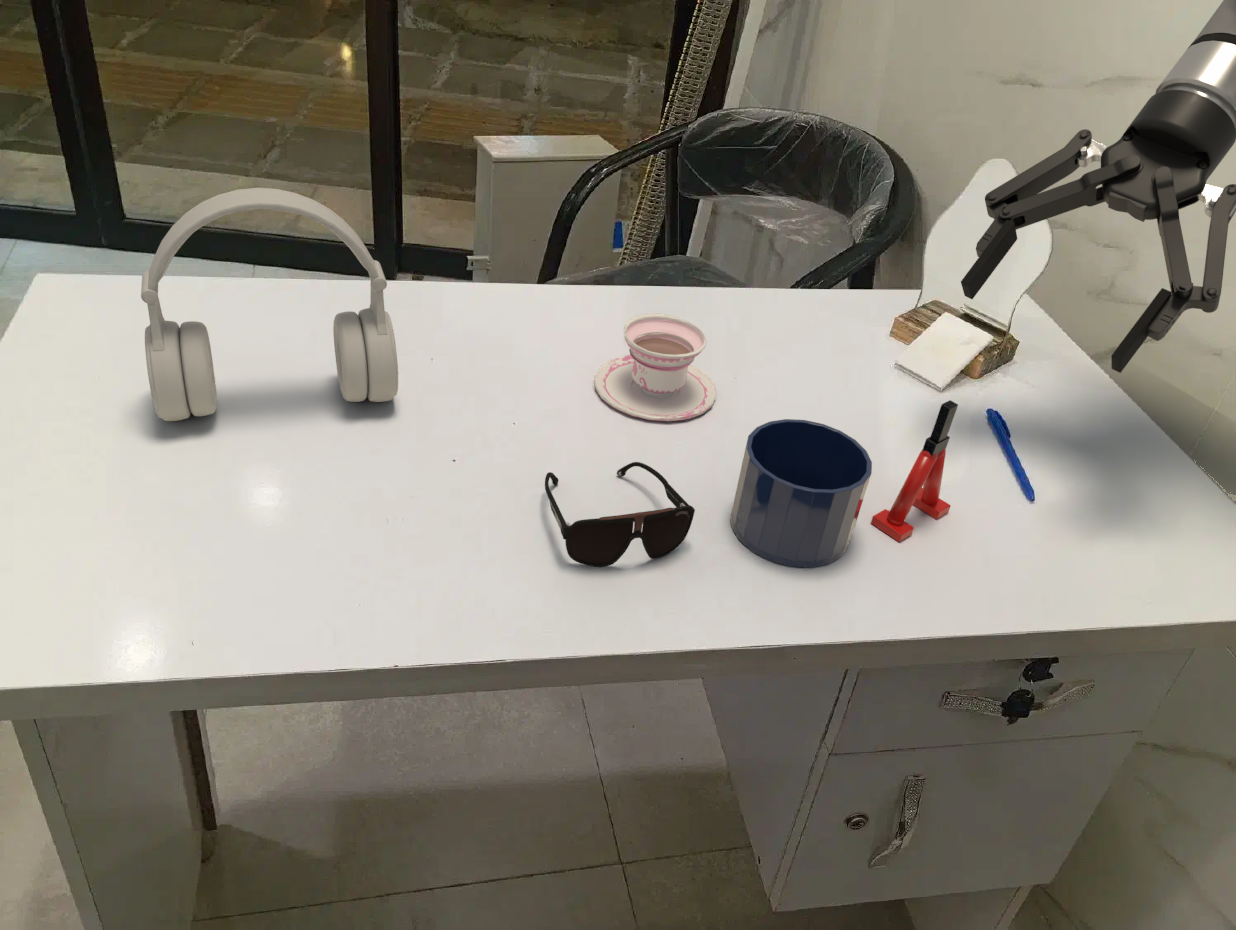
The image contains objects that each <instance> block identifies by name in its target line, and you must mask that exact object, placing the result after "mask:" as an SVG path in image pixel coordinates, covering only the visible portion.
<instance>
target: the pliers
mask: <svg viewBox="0 0 1236 930" xmlns="http://www.w3.org/2000/svg"><path fill="white" fill-rule="evenodd" d="M958 408H959V404H958V403H956V402H954V401H952V400H948V401H945V402H944V403H941V405H940V408H939V410H938V414H937V417H936V420H935V423H934V425H933V428H932V431H931V434H930V436H929V437H927V438H926V439H925V442H924V444H923V446H922V449H921V451H920V452H919V453H918V456H917V458H916V459H915V462H914V463H913V465H912V467H911V470H910V471H909V473H908V475H907V477H906V479H905V481H904V483H903V485H902V487H901V489H900V490H899V493H898V495H897V496H896V498H895V500H894V502H893V503H892V505H891V508H890V510H888V509H886V508H885V509H883V510H880V511H879V512H878V513H876V514H874V515H872V518H871V521H870V524H871V525H873V526H874V527H876V528H877V529H879V530H880V531H882V532H883V533H885V534H886V535H888V536H889V537H891V538H892V539H894V540H895V541H896V542H898V543H901V542H902V541H903V540H906V539H907V538H909V537H910V536H912V534H913V532H914V529H915V527H914V526H913V525H912V524H909V523H908V522H906V521H905V520H906V519H907V517H908V515H909V513H910V511H911V509H912V507H913V506H914V507H916V508H918V509H919V510H921V511H922V512H924V513H926V514H927V515H929V516H930V517H931V518H933V519H935V520H938V519H940V518H941V517H943V516H945V515H947V514H948V513H949V511H950V509H951V504H949V503H948V502H946V501H944V500H943V499H941V498H940V495H941V488H942V487H941V486H942V480H943V474H944V467H945V459H946V454H947V453H946V452H947V450H946V449H947V447H948V444H949V441H950V438H951V437H950V436H949V435H948V434H949V432H950V429H951V426H952V423H953V420H954V418H955V416H956V412H957V410H958Z"/></svg>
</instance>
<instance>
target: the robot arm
mask: <svg viewBox="0 0 1236 930" xmlns="http://www.w3.org/2000/svg"><path fill="white" fill-rule="evenodd" d="M1235 143H1236V0H1223V1H1222V2H1221V3H1220V5H1219V6H1218V7H1217V8H1216V10H1215V11H1214V12H1213V14H1212V15H1211V17H1210V18H1209V20H1208V21H1207V22H1206V23H1205V25H1204V26H1203V28H1202V29H1201V31H1200V32H1199V33H1198V35H1197V36H1196V37H1195V38H1194V40H1193V41H1192V42H1191V44H1190V45H1189V46H1188V48H1187V49H1186V50H1185V51H1184V52H1183V54H1182V55H1181V56H1180V58H1179V59H1178V60H1177V61H1176V63H1175V64H1174V66H1173V67H1172V68H1171V69H1170V70H1169V72H1168V73H1167V74H1166V76H1165V77H1164V78H1163V80H1162V81H1161V82H1160V84H1159V85H1158V86H1157V88H1156V90H1155V93H1154V94H1153V95H1152V96H1151V97H1149V99H1147V101H1146V102H1145V104H1144V105H1143V107H1142V108H1141V109H1140V111H1139V112H1138V113H1137V115H1136V116H1135V118H1134V119H1133V120H1132V121H1131V123H1130V124H1129V125H1128V127H1127V128H1126V129H1125V131H1124V133H1123V134H1122V135H1121V136H1120V138H1119V139H1118V140H1117V141H1116V142H1114V143H1112V144H1111V145H1109V146H1107V145H1105V144H1103V143H1101V142H1099V141H1097V140H1096V139H1094V138H1093V134H1092V131H1091V130H1090V129H1080V130H1079V131H1078V132H1077V133H1076V134H1074V136H1073V137H1072V138H1071V139H1070V140H1069V141H1068V142H1067V143H1066V145H1065V146H1064V147H1062V148H1061V149H1059V150H1057V151H1055V152H1054V153H1052V154H1051V155H1049V156H1047V157H1046V158H1044V159H1043V160H1041V161H1039V162H1037V163H1036V164H1034V165H1033V166H1031V167H1029V168H1027V169H1026V170H1024V171H1022V172H1021V173H1019V174H1017V175H1015V176H1014V177H1012V178H1010V179H1009V180H1007V181H1006V182H1004V183H1002V184H1001V185H998V187H996V188H994V189H992V190H991V191H989V192H988V193H986V194H985V196H984V202H985V207H986V211H987V215H988V217H990V218H991V219H993V221H992V223H990V225H989V227H988V228H987V229H986V231H985V232H984V234H983V235H982V236H981V237H980V239H979V240H978V241H977V242H976V246H975V251H976V255H977V257H978V258H977V259H976V261H975V262H974V263H973V264H972V265H971V267H970V269H969V270H967V272H966V274H965V275H964V277H963V278H962V279H961V280H960V284H961V288H962V291H963V295H964V297H966V298H968V299H970V300H973V299H974V298H975V296H977V294H978V293H979V292H980V290H981V289H982V287H983V286H984V285H985V284H986V282H987V281H988V279H989V278H990V277H991V275H992V274H993V273H994V271H995V270H996V269H997V267H998V266H999V265H1000V263H1001V262H1002V261H1003V259H1004V258H1005V256H1006V255H1007V254H1008V253H1009V251H1010V250H1011V249H1012V247H1013V246H1014V245H1015V243H1016V242H1017V240H1018V234H1017V230H1019V229H1023V228H1025V227H1028V226H1030V225H1033V224H1036V223H1040V222H1042V221H1045V220H1048V219H1051V218H1053V217H1056V216H1057V217H1058V216H1060V215H1062V214H1065V213H1068V212H1071V211H1073V210H1076V209H1077V210H1078V209H1079V208H1082V207H1094V206H1097V205H1099V204H1102V203H1106V204H1107V208H1108V209H1111V210H1113V211H1116V212H1120V213H1126V214H1128V215H1130V216H1131V218H1133V219H1135V220H1137V221H1140V222H1142V223H1144V222H1145V221H1152V220H1156V223H1157V229H1158V233H1159V236H1160V240H1161V245H1162V251H1163V256H1164V261H1165V267H1166V273H1167V279H1168V283H1169V288H1170V290H1168V289H1166V288H1163V287H1161V289H1160V290H1159V291H1158V293H1157V294H1156V295H1155V297H1154V298H1153V299H1152V300H1151V302H1150V303H1149V305H1148V306H1147V307H1146V309H1145V310H1144V311H1143V312H1142V314H1141V316H1140V317H1139V318H1138V319H1137V320H1136V322H1135V323H1134V324H1133V326H1132V327H1131V328H1130V330H1129V331H1128V333H1127V334H1126V336H1125V337H1124V338H1123V339H1122V341H1121V342H1120V343H1119V345H1117V348H1116V349H1115V350H1114V351H1113V353H1112V354H1111V356H1110V357H1111V369H1112V370H1113V371H1115V372H1118V373H1119V374H1121V373H1122V372H1123V370H1124V369H1125V368H1126V366H1127V365H1128V364H1129V362H1130V361H1131V360H1132V358H1133V357H1134V356H1135V355H1136V353H1137V352H1138V351H1139V349H1140V348H1141V346H1142V345H1143V344H1144V343H1145V341H1146V340H1147V339H1148V338H1150V339H1152V340H1154V341H1157V342H1159V341H1160V340H1162V339H1164V338H1165V337H1166V335H1167V334H1168V333H1169V331H1170V330H1171V329H1172V327H1173V326H1174V325H1175V323H1177V321H1178V320H1179V318H1180V317H1181V316H1182V314H1183V313H1184V312H1185V311H1187V310H1191V309H1196V310H1202V312H1204V313H1207V314H1209V313H1210V314H1211V313H1214V312H1216V311H1217V310H1218V308H1219V305H1220V299H1221V295H1222V288H1223V287H1222V286H1223V280H1224V279H1223V278H1224V269H1225V259H1226V251H1227V249H1226V248H1227V239H1228V230H1229V224H1230V222H1231V220H1232V219H1233V217H1234V216H1235V213H1236V183H1231V184H1228V185H1226V186H1225V187H1221V186H1220V187H1219V186H1215V185H1212V184H1208V183H1207V181H1208V179H1209V178H1210V177H1211V176H1212V174H1213V173H1214V171H1216V169H1217V167H1218V166H1219V165H1220V163H1221V162H1222V161H1223V160H1224V158H1225V157H1226V156H1227V154H1228V153H1229V151H1230V150H1231V149H1232V148H1233V146H1234V145H1235ZM1093 162H1098V163H1100V167H1099V168H1097V169H1094V170H1091V171H1088V172H1086V173H1084V174H1082V176H1081V177H1080V178H1078V179H1075V180H1072V181H1069V182H1067V183H1064V184H1061V185H1058V186H1056V187H1053V188H1050V187H1051V186H1053V185H1055V184H1057V183H1059V182H1060V181H1062V180H1063V179H1066V178H1067V177H1069V176H1070V175H1071V174H1073V173H1074V172H1075V171H1076V170H1078V169H1079V168H1080V167H1081V168H1087V167H1088V166H1089V165H1090V164H1091V163H1093ZM1098 186H1100V187H1098ZM1048 188H1050V189H1048ZM1046 189H1048V190H1046ZM1199 201H1200V202H1202V203H1203V204H1204V210H1203V212H1204V214H1205V215H1206V216H1208V218H1210V222H1209V227H1208V235H1207V243H1206V253H1205V260H1204V261H1205V262H1204V263H1205V264H1204V270H1203V278H1202V286H1199V285H1194V282H1192V277H1191V272H1190V267H1189V262H1188V256H1187V252H1186V245H1185V241H1184V236H1183V231H1182V230H1183V229H1182V225H1181V219H1180V211H1179V210H1182V209H1184V208H1187V207H1189V206H1191V205H1194V204H1196V203H1198V202H1199Z"/></svg>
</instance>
